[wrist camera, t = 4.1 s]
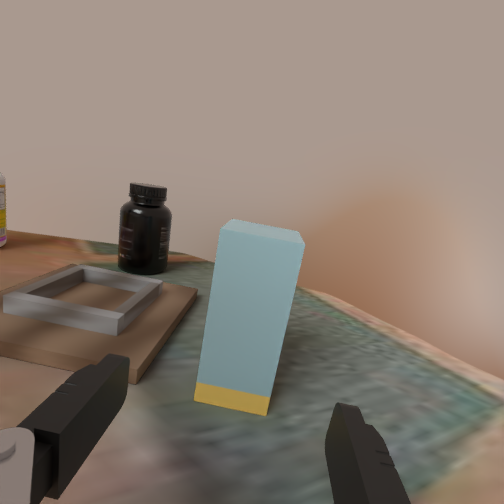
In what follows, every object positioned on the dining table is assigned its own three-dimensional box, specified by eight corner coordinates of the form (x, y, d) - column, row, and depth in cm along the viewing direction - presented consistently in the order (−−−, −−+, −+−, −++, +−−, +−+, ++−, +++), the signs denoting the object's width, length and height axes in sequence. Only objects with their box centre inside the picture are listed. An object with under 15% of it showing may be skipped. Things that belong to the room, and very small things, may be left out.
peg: (193, 400, 20) (220, 228, 17) (209, 358, 24) (232, 218, 22) (265, 416, 19) (305, 244, 17) (267, 370, 24) (298, 231, 22)
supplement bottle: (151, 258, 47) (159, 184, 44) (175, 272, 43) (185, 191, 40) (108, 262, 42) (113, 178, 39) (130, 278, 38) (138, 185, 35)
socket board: (-82, 338, 21) (-85, 303, 20) (71, 272, 36) (72, 252, 36) (135, 384, 20) (139, 350, 19) (196, 297, 36) (199, 277, 35)
